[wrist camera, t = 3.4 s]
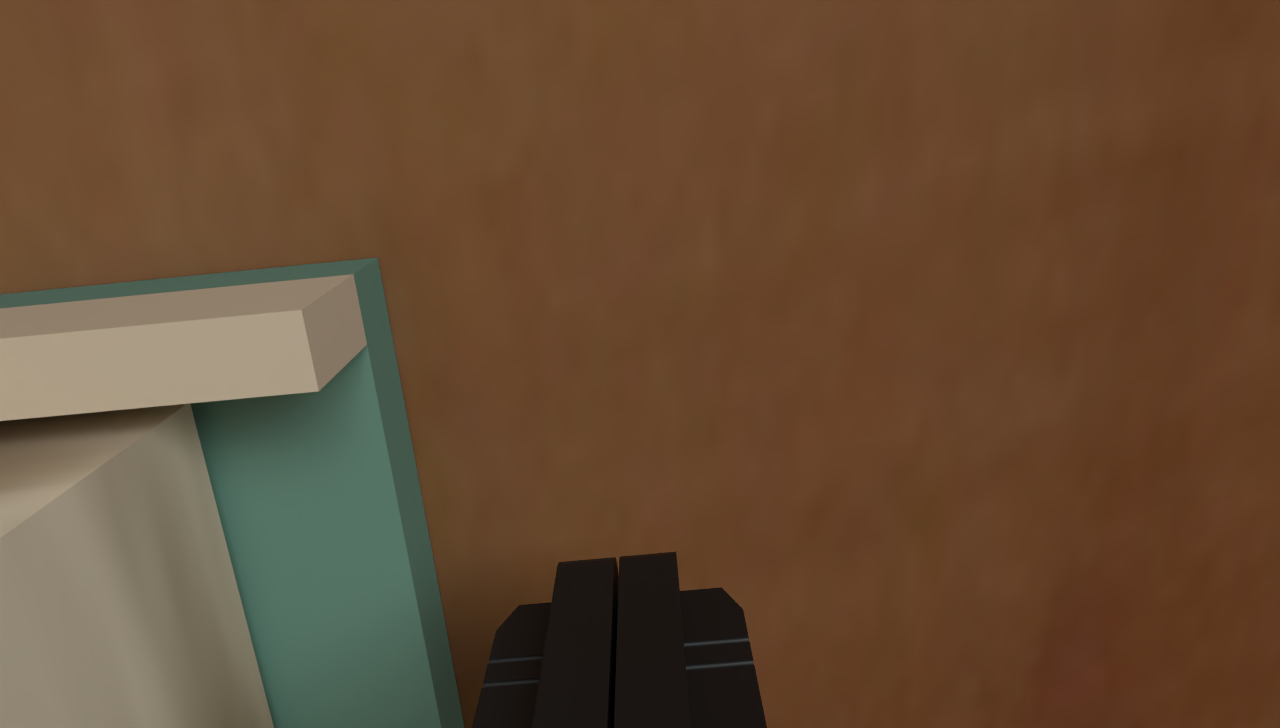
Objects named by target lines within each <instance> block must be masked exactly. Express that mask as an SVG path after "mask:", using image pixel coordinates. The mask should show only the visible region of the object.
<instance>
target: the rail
mask: <svg viewBox="0 0 1280 728" xmlns="http://www.w3.org/2000/svg"><path fill="white" fill-rule="evenodd" d="M189 403H190V405H191V409H192V412H193V416H194V420H195V424H196V428H197V432H198V436H199V439H200V443H201V447H202V451H203V455H204V459H205V463H206V467H207V470H208V474H209V478H210V482H211V486H212V490H213V494H214V498H215V501H216V505H217V509H218V513H219V517H220V521H221V525H222V529H223V532H224V536H225V540H226V544H227V548H228V552H229V556H230V560H231V563H232V567H233V571H234V575H235V579H236V583H237V587H238V590H239V594H240V598H241V602H242V606H243V610H244V614H245V618H246V621H247V625H248V629H249V633H250V637H251V641H252V645H253V649H254V652H255V656H256V660H257V664H258V668H259V672H260V676H261V680H262V683H263V687H264V691H265V695H266V699H267V703H268V707H269V711H270V714H271V718H272V722H273V726H274V728H465V727H464V722H463V716H462V711H461V706H460V700H459V695H458V689H457V684H456V679H455V673H454V668H453V662H452V657H451V652H450V646H449V641H448V635H447V630H446V624H445V619H444V614H443V608H442V603H441V597H440V592H439V587H438V581H437V576H436V570H435V565H434V560H433V554H432V549H431V543H430V538H429V533H428V527H427V522H426V516H425V511H424V506H423V500H422V495H421V489H420V484H419V479H418V473H417V468H416V462H415V457H414V452H413V446H412V441H411V435H410V430H409V424H408V419H407V414H406V408H405V403H404V397H403V392H402V387H401V381H400V376H399V370H398V365H397V360H396V354H395V349H394V343H393V338H392V333H391V327H390V322H389V316H388V311H387V306H386V300H385V295H384V289H383V284H382V279H381V273H380V268H379V262H378V258H369V259H359V260H348V261H338V262H328V263H318V264H307V265H297V266H287V267H277V268H266V269H256V270H246V271H236V272H225V273H215V274H205V275H195V276H184V277H174V278H164V279H154V280H144V281H133V282H123V283H113V284H103V285H92V286H82V287H72V288H62V289H51V290H41V291H31V292H21V293H10V294H0V421H6V420H17V419H28V418H38V417H49V416H60V415H71V414H81V413H92V412H103V411H114V410H124V409H135V408H146V407H157V406H167V405H178V404H189Z"/></svg>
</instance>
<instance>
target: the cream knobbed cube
mask: <svg viewBox="0 0 1280 728" xmlns="http://www.w3.org/2000/svg"><path fill="white" fill-rule="evenodd" d="M0 728H274V726H273V722H272V718H271V714H270V711H269V707H268V703H267V699H266V695H265V691H264V687H263V683H262V680H261V676H260V672H259V668H258V664H257V660H256V656H255V652H254V649H253V645H252V641H251V637H250V633H249V629H248V625H247V621H246V618H245V614H244V610H243V606H242V602H241V598H240V594H239V590H238V587H237V583H236V579H235V575H234V571H233V567H232V563H231V560H230V556H229V552H228V548H227V544H226V540H225V536H224V532H223V529H222V525H221V521H220V517H219V513H218V509H217V505H216V501H215V498H214V494H213V490H212V486H211V482H210V478H209V474H208V470H207V467H206V463H205V459H204V455H203V451H202V447H201V443H200V439H199V436H198V432H197V428H196V424H195V420H194V416H193V412H192V409H191V405H190V403H189V404H178V405H167V406H157V407H146V408H135V409H124V410H114V411H103V412H92V413H81V414H71V415H60V416H49V417H38V418H28V419H17V420H6V421H0Z"/></svg>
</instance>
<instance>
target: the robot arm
mask: <svg viewBox="0 0 1280 728" xmlns="http://www.w3.org/2000/svg"><path fill="white" fill-rule="evenodd" d="M489 661H490V664H488V666H487V670H486V674H485V678H484V682H483V683H484V688H482V690H481V694H480V698H479V702H478V706H477V710H476V714H475V718H474V722H473V726H472V728H767V726H766V721H765V716H764V711H763V706H762V701H761V696H760V691H759V686H758V681H757V676H756V671H755V666H754V664H753V657H752V652H751V647H750V642H749V637H748V632H747V627H746V622H745V617H744V612H743V609H742V608H741V607H740V606H739V605H738V604H737V603H736V602H735V601H734V600H733V599H732V598H731V597H730V596H729V595H728V594H727V593H726V592H725V591H724V590H723V589H722V588H711V589H699V590H688V591H680V589H679V578H678V567H677V557H676V552H668V553H657V554H645V555H634V556H622V557H620V560H619V574H618V567H617V561H616V558H615V557H613V558H602V559H590V560H579V561H567V562H559V563H558V566H557V572H556V578H555V585H554V591H553V597H552V602H551V603H540V604H528V605H519V606H518V607H517V608H516V609H515V610H514V611H513V613H512V614H511V615H510V616H509V617H508V618H507V619H506V620H505V622H504V623H503V624H502V625H501V626H500V627H499V628H498V629H497V631H496V634H495V638H494V642H493V646H492V650H491V654H490V658H489Z"/></svg>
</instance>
